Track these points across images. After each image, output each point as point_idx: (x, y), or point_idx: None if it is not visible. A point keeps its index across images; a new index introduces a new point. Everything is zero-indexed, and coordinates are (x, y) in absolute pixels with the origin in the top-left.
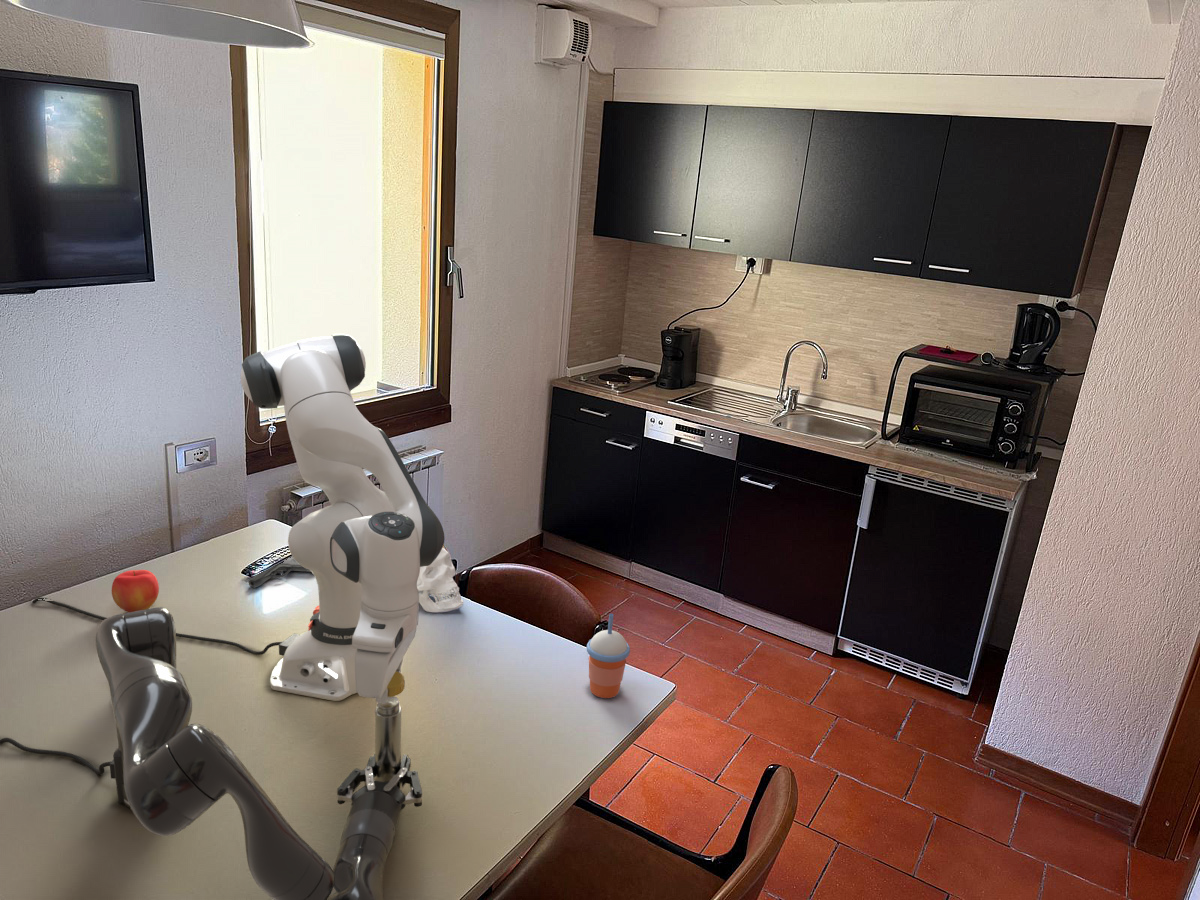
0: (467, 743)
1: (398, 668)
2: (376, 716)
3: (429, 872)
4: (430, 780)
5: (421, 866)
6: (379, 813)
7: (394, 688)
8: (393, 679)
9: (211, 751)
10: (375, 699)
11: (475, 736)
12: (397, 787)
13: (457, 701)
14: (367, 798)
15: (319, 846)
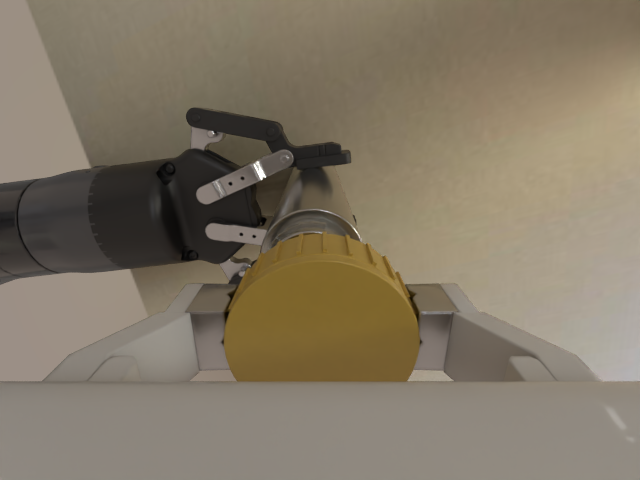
0: (489, 276)
1: (450, 368)
2: (275, 220)
3: (173, 289)
4: (379, 238)
5: (180, 275)
6: (97, 255)
7: None
8: (322, 373)
9: None
10: (184, 286)
11: (510, 285)
12: (239, 243)
13: (633, 228)
14: (126, 216)
15: (170, 92)
